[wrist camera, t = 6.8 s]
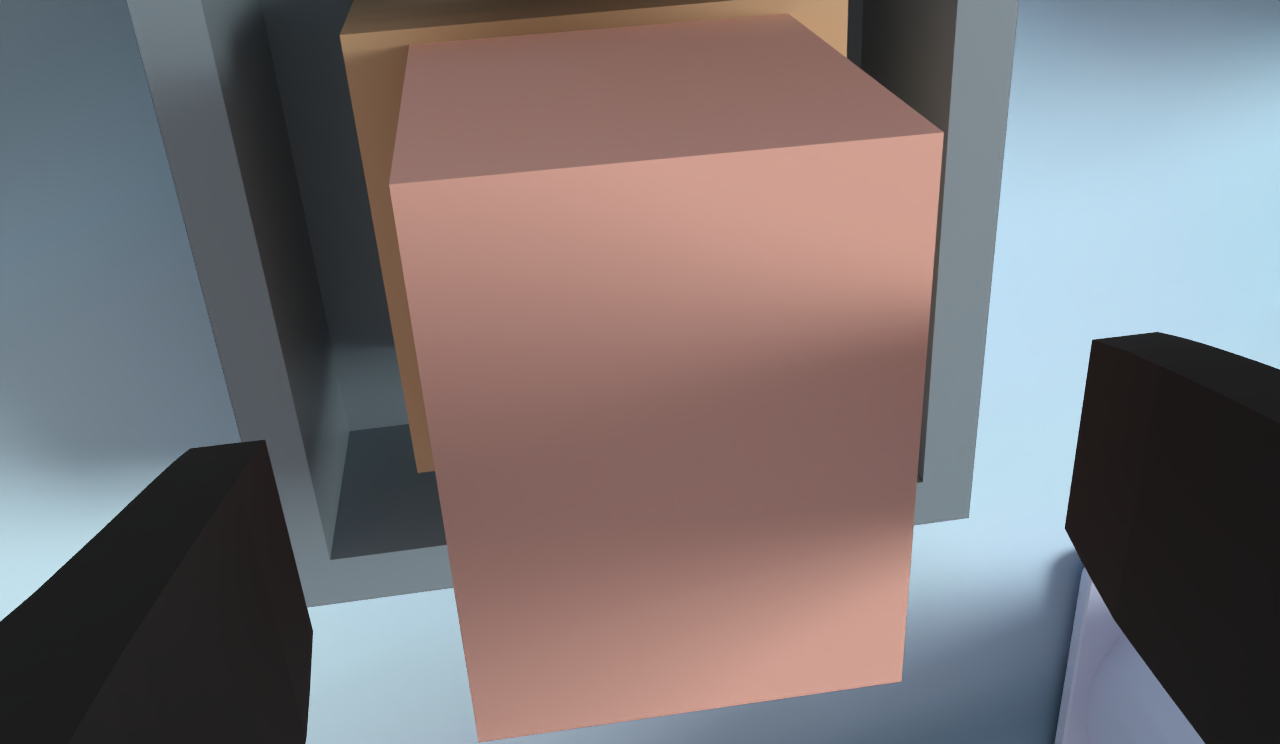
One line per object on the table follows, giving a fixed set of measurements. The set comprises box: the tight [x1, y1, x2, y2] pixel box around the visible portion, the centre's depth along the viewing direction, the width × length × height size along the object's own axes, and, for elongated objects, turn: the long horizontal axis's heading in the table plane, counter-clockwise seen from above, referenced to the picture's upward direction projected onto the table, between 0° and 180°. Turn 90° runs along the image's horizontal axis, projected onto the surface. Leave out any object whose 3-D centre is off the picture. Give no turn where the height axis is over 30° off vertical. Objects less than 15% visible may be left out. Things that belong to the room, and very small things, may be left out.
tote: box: [126, 0, 1019, 607], centre depth 17 cm, size 11×11×4 cm
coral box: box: [389, 14, 944, 742], centre depth 13 cm, size 4×6×5 cm
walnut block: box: [340, 0, 848, 473], centre depth 17 cm, size 6×6×4 cm
